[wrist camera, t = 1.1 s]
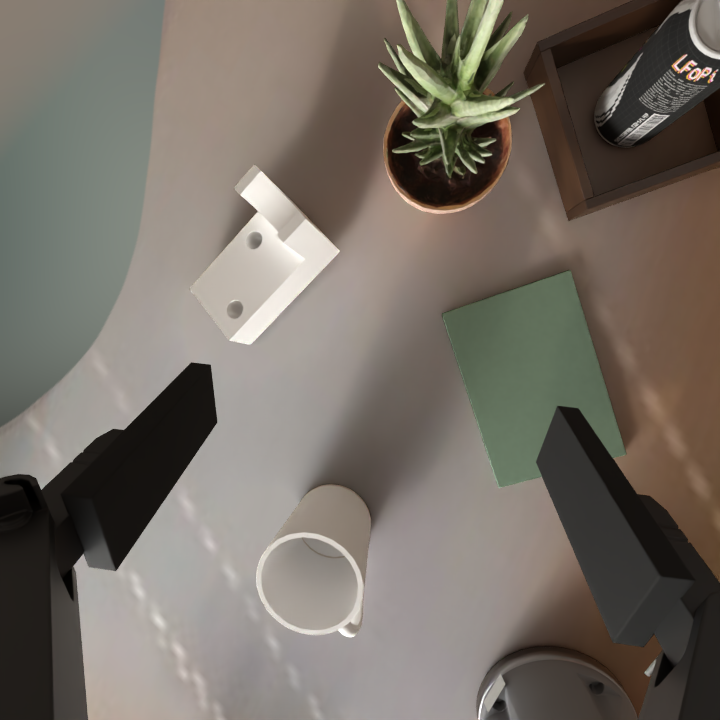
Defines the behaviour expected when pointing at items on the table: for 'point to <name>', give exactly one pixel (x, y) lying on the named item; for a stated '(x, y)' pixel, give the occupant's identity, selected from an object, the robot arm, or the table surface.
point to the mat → (529, 371)
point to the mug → (318, 564)
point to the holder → (555, 120)
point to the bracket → (262, 262)
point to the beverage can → (663, 76)
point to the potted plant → (451, 110)
